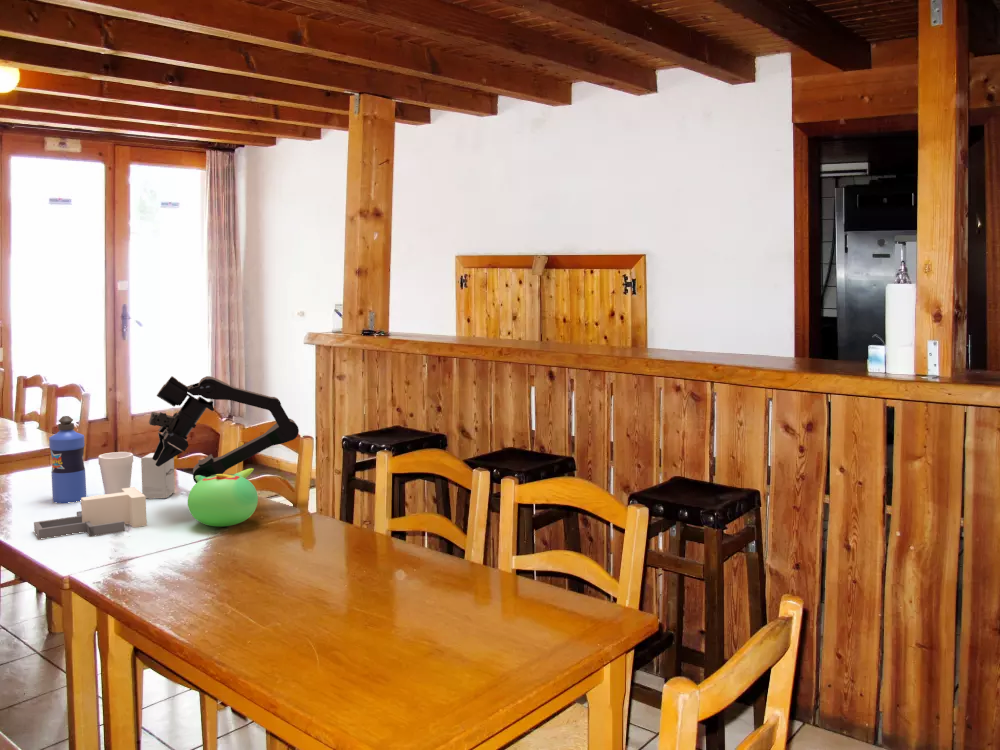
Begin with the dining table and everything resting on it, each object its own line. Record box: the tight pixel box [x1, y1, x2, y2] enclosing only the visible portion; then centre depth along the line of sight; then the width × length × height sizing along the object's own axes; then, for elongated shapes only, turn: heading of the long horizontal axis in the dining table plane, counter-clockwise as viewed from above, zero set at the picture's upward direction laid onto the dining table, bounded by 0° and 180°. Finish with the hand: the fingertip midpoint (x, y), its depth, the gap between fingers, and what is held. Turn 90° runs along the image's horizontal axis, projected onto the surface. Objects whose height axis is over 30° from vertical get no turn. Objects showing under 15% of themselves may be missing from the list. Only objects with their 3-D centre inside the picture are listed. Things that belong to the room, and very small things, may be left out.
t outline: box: [33, 510, 126, 540], centre depth 231 cm, size 20×17×2 cm
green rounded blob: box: [187, 467, 259, 528], centre depth 236 cm, size 18×17×15 cm
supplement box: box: [140, 452, 176, 499], centre depth 266 cm, size 7×7×13 cm
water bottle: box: [48, 415, 87, 504], centre depth 259 cm, size 9×9×25 cm
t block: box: [80, 486, 148, 528], centre depth 236 cm, size 14×12×8 cm
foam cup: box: [97, 451, 134, 495], centre depth 263 cm, size 10×9×13 cm
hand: (155, 462), depth 244 cm, fingers open, 9 cm apart
